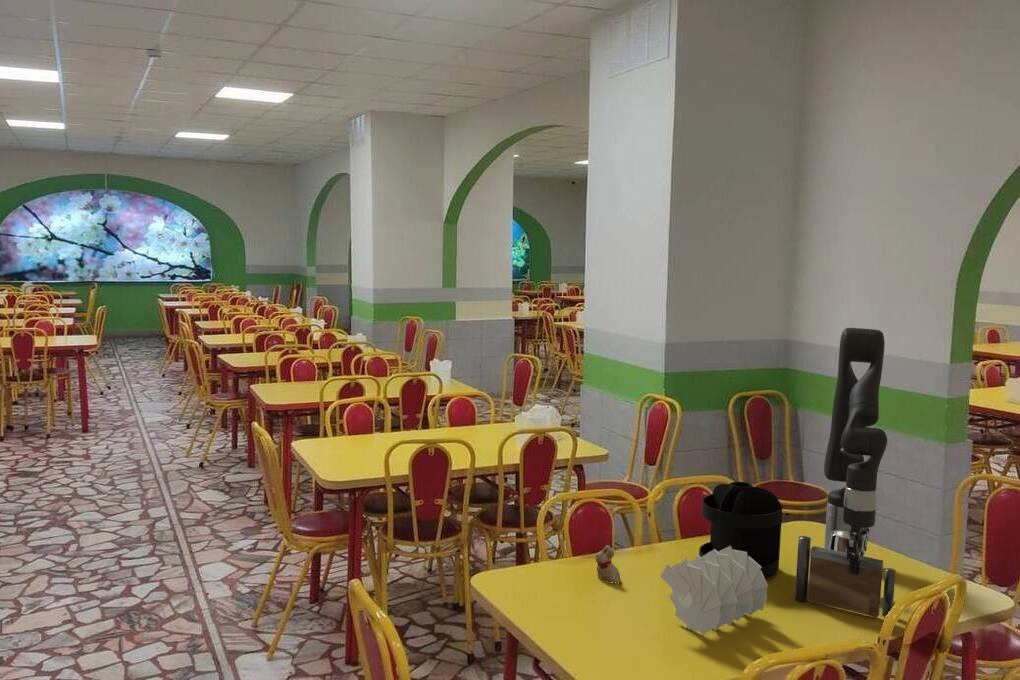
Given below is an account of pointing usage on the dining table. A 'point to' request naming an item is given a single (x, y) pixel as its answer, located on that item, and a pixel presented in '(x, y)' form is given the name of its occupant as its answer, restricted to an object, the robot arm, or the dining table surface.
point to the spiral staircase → (716, 588)
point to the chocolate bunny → (607, 566)
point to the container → (745, 523)
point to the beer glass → (838, 540)
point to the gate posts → (804, 573)
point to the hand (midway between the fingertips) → (855, 571)
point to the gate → (845, 582)
